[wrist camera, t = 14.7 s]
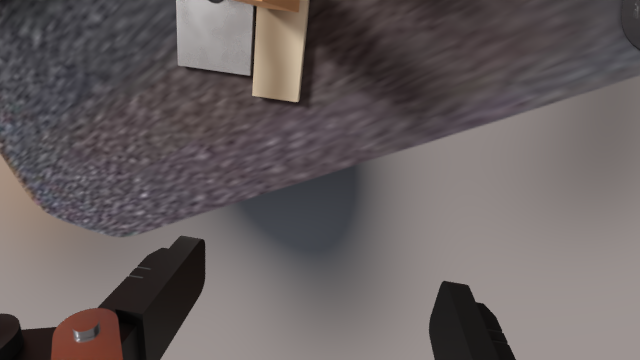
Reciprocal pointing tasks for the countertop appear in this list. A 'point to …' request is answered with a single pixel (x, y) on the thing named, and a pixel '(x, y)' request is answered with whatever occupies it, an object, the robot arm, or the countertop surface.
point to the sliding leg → (275, 4)
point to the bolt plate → (216, 35)
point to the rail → (280, 52)
